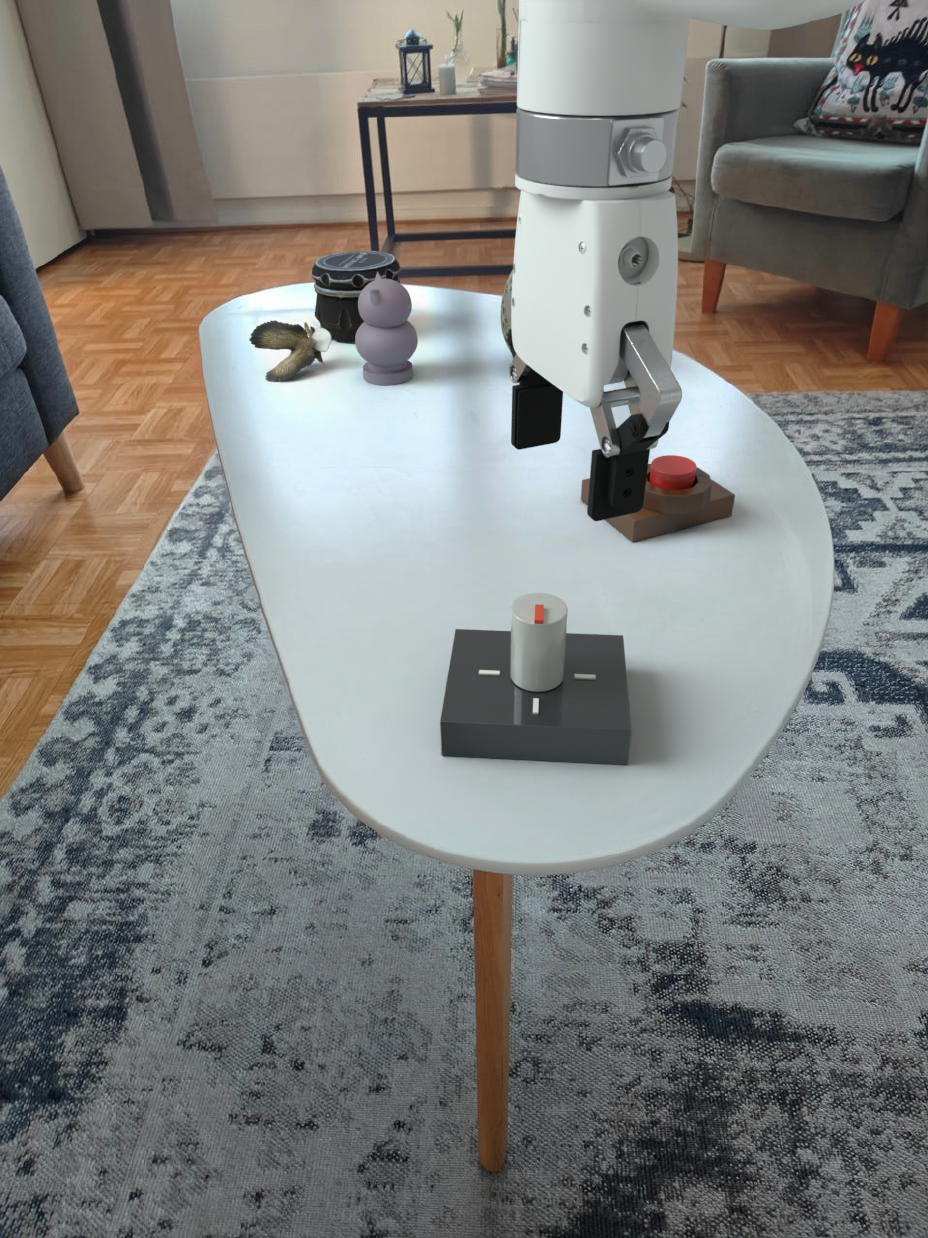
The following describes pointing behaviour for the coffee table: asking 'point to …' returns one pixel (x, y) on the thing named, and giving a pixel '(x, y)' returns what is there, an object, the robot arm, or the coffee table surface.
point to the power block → (672, 507)
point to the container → (347, 288)
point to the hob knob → (538, 641)
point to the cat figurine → (386, 332)
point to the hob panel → (537, 703)
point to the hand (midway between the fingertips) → (572, 476)
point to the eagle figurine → (291, 346)
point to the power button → (673, 472)
